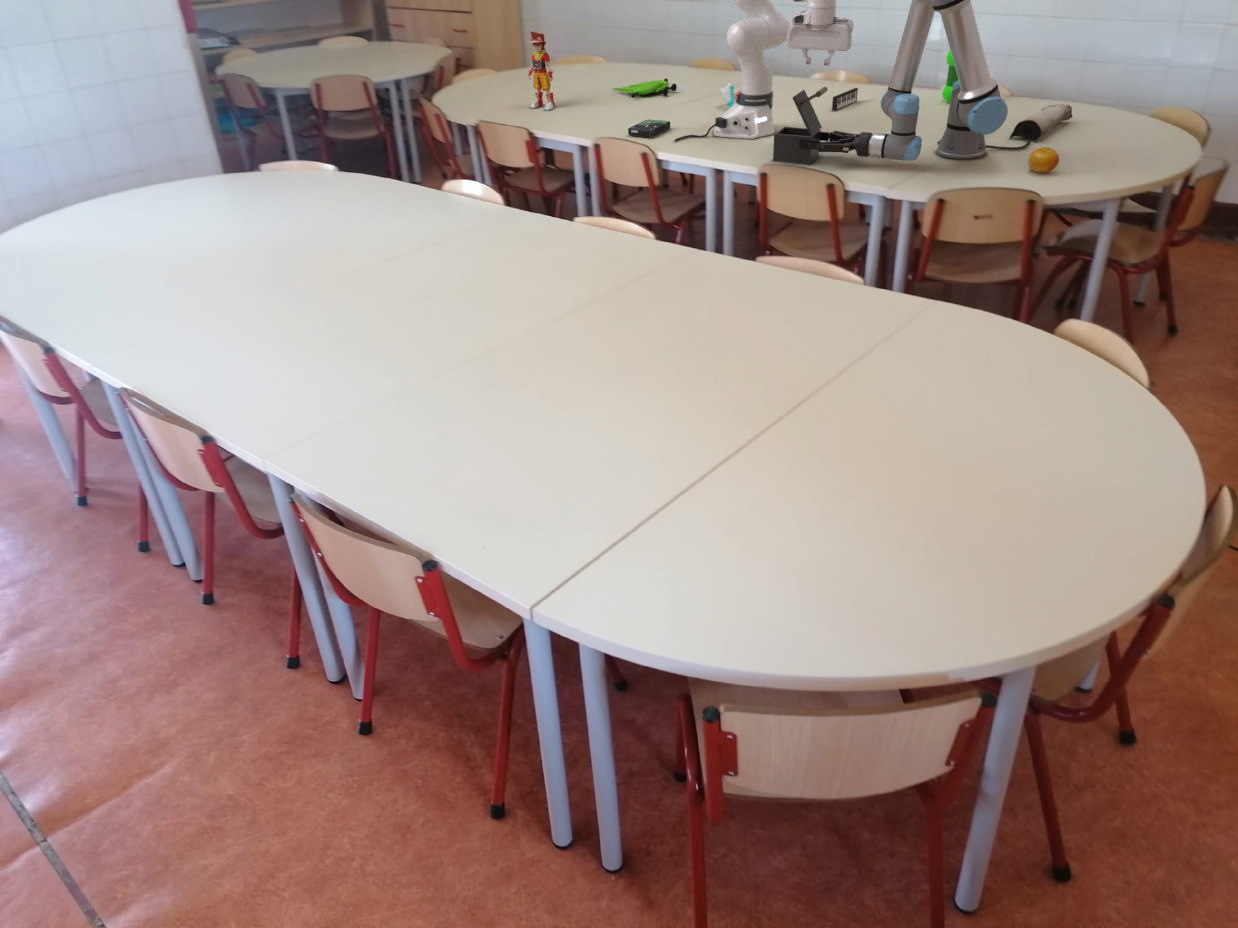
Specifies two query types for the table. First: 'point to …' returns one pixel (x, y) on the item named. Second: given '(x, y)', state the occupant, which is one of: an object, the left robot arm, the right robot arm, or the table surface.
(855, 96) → the midi keyboard
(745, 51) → the left robot arm
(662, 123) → the disk drive
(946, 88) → the plastic bottle
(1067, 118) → the rolled mat
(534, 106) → the toy
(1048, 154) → the fruit
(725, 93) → the anatomical model
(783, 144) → the chest
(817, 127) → the lid
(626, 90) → the toy
